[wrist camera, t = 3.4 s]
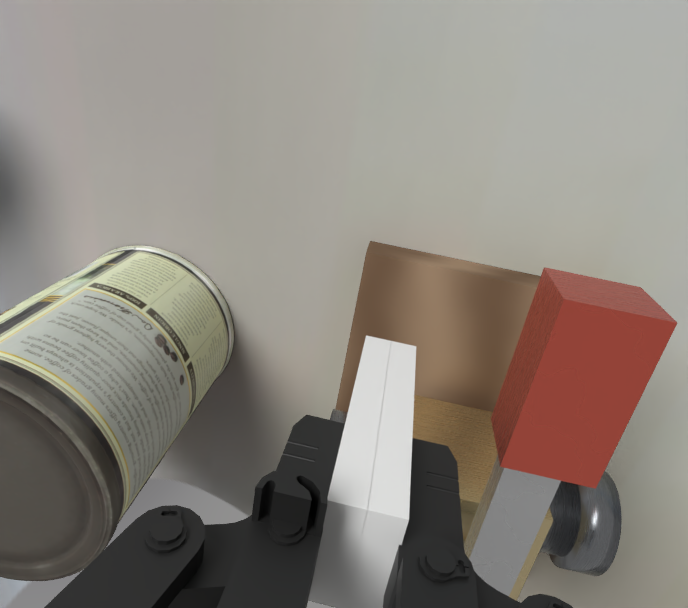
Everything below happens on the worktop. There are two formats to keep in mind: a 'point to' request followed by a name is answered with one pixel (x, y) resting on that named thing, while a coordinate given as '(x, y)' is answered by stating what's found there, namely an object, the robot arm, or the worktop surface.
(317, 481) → the robot arm
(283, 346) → the worktop surface
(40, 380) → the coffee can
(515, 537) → the valve lever
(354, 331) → the base board
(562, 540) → the valve body
